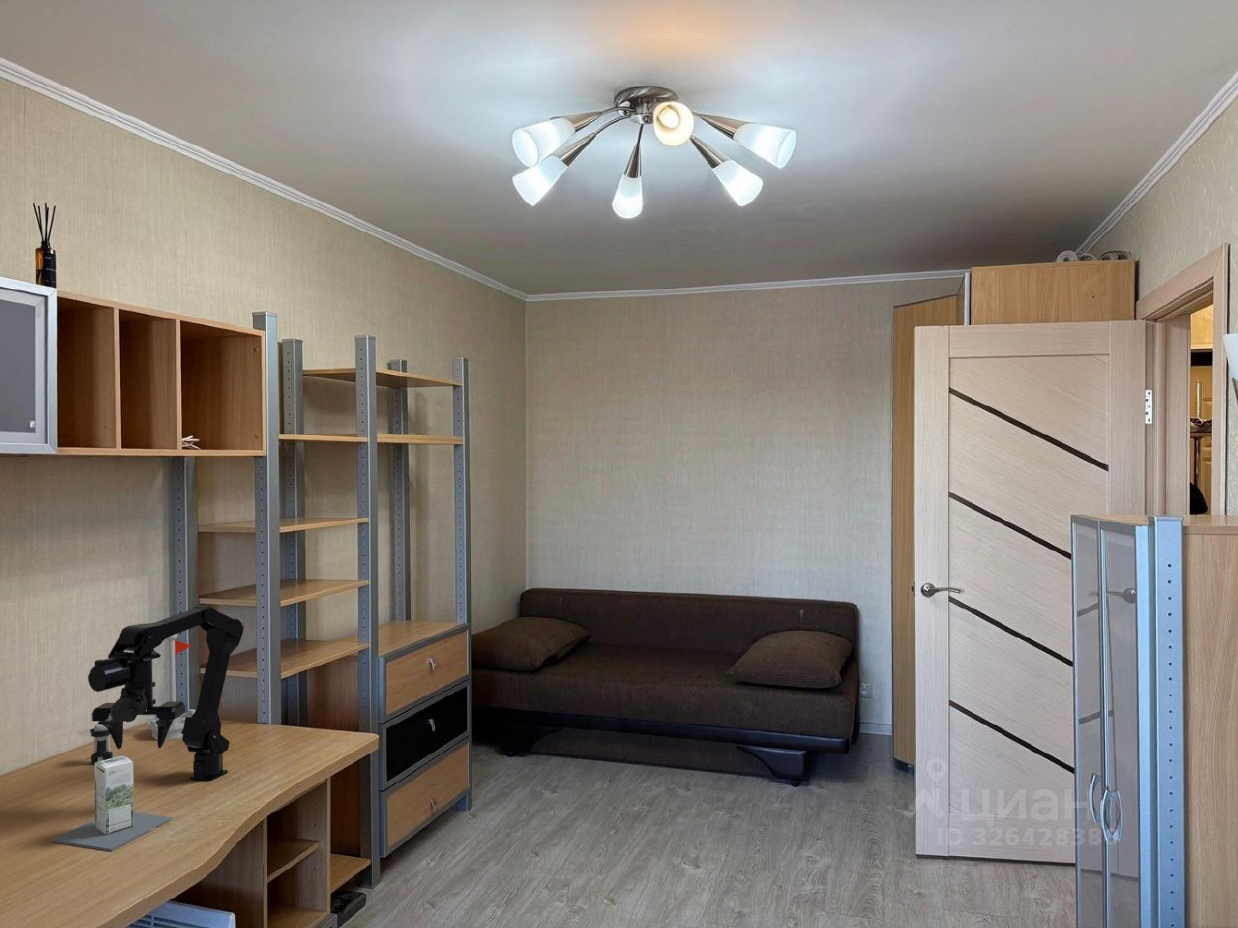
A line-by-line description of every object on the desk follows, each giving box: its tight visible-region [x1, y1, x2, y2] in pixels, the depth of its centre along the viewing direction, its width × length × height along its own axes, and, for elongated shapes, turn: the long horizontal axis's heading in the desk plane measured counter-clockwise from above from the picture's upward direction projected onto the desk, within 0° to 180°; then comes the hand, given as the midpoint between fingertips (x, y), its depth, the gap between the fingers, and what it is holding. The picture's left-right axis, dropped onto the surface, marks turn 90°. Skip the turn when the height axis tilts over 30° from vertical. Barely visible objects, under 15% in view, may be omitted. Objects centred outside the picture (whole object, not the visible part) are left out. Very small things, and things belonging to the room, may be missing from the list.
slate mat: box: [51, 811, 174, 852], centre depth 190 cm, size 16×16×1 cm
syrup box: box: [94, 755, 134, 835], centre depth 190 cm, size 6×6×14 cm
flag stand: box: [147, 634, 196, 740], centre depth 256 cm, size 13×13×30 cm
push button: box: [84, 723, 114, 765], centre depth 232 cm, size 7×5×10 cm
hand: (139, 748), depth 204 cm, fingers open, 9 cm apart
